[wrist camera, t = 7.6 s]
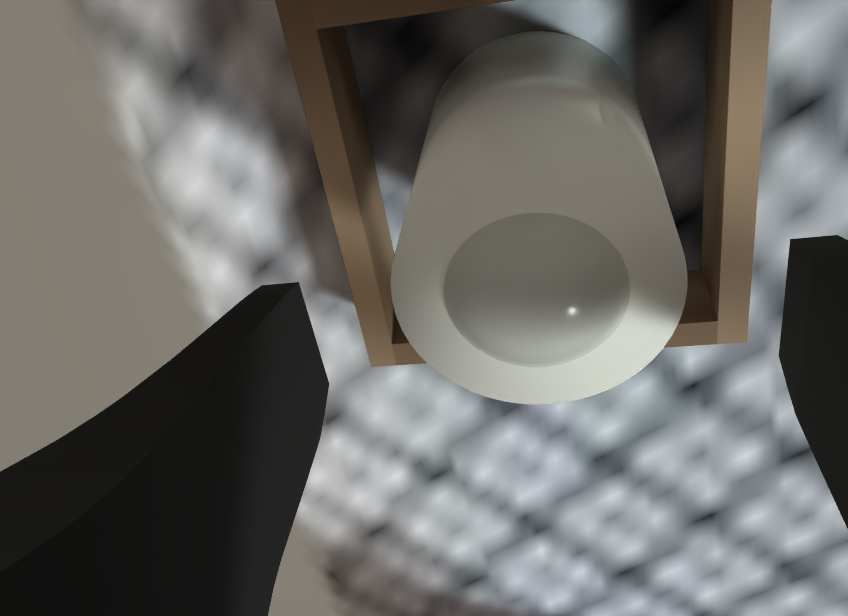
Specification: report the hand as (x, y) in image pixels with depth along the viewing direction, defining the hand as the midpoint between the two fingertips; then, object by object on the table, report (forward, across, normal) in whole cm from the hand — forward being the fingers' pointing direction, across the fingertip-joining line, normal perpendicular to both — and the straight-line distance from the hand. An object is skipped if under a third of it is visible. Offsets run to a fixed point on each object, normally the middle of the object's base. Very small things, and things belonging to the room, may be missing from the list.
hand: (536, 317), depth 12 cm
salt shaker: (+6, 0, 0) cm, 6 cm away
